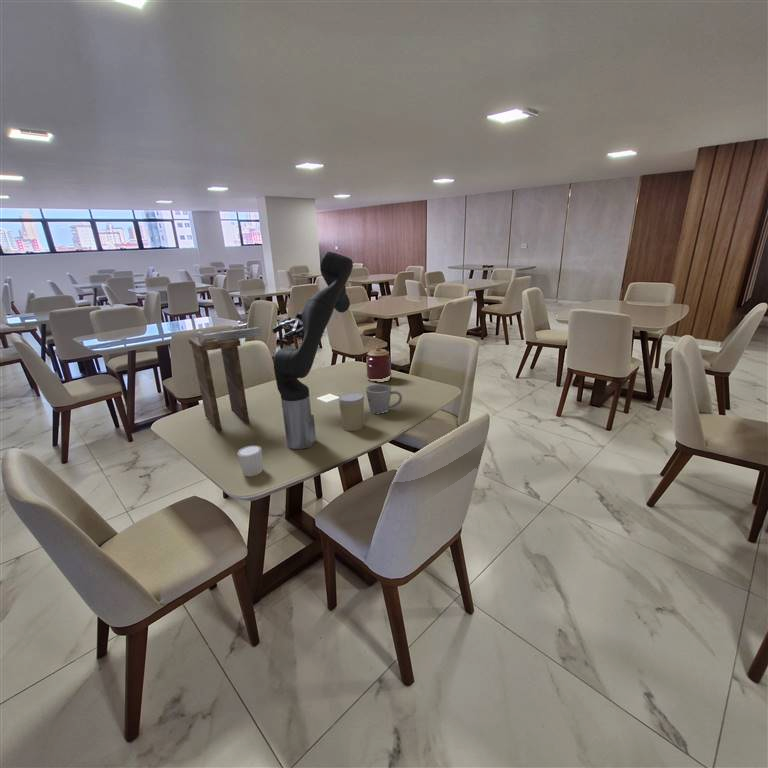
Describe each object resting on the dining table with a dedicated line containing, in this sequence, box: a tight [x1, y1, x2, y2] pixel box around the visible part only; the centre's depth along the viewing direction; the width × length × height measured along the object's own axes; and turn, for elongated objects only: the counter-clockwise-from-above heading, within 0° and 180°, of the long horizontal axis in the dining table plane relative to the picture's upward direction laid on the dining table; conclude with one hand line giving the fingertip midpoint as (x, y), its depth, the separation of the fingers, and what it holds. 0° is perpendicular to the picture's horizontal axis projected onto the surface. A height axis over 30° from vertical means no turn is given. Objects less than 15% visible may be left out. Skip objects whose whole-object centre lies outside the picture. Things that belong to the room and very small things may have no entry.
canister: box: [365, 346, 392, 379], centre depth 196 cm, size 13×13×18 cm
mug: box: [365, 383, 403, 414], centre depth 154 cm, size 10×15×10 cm
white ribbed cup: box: [237, 445, 263, 477], centre depth 113 cm, size 7×7×7 cm
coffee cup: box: [337, 392, 365, 432], centre depth 140 cm, size 9×9×12 cm
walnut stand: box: [188, 336, 250, 432], centre depth 148 cm, size 14×20×34 cm
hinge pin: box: [196, 326, 262, 344], centre depth 141 cm, size 22×4×4 cm, turn 126°
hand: (278, 334), depth 153 cm, fingers open, 8 cm apart
